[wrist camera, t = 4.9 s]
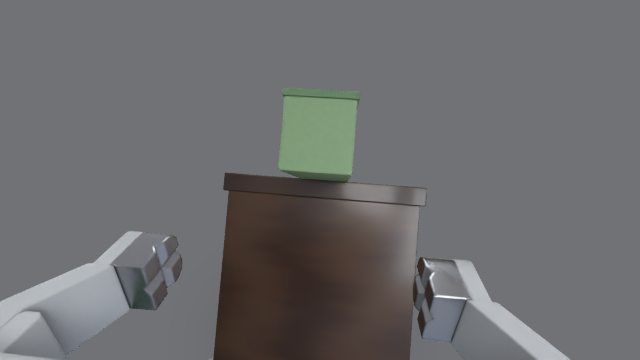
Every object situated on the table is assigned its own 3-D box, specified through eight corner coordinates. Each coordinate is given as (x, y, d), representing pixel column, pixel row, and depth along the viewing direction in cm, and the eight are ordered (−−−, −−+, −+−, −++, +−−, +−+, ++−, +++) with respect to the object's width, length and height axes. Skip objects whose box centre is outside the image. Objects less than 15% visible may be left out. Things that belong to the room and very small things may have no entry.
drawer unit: (378, 384, 40) (391, 190, 41) (405, 519, 23) (427, 188, 24) (253, 368, 41) (270, 180, 42) (195, 488, 25) (224, 172, 26)
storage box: (345, 186, 40) (347, 152, 40) (353, 175, 16) (360, 91, 16) (313, 183, 40) (316, 150, 40) (275, 169, 16) (282, 87, 16)
